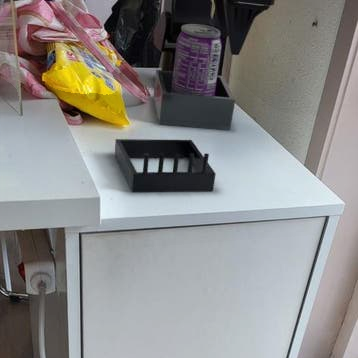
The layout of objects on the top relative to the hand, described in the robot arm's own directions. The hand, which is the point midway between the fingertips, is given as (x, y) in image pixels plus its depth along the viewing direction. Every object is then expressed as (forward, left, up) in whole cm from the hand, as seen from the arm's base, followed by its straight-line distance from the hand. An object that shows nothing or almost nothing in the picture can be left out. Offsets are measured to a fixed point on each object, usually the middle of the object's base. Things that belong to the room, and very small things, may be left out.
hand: (229, 45), depth 94 cm
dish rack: (+16, -10, -13) cm, 23 cm away
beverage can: (-8, -3, -12) cm, 15 cm away
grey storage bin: (-8, -3, -13) cm, 16 cm away
